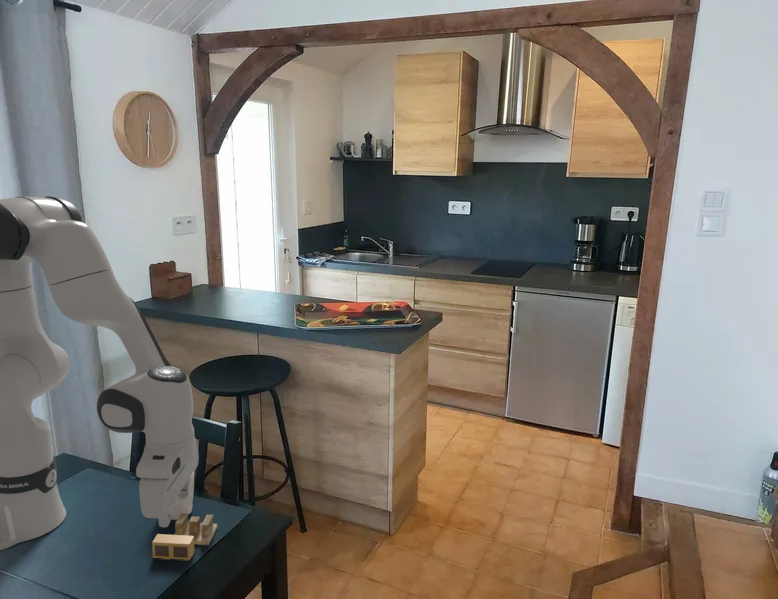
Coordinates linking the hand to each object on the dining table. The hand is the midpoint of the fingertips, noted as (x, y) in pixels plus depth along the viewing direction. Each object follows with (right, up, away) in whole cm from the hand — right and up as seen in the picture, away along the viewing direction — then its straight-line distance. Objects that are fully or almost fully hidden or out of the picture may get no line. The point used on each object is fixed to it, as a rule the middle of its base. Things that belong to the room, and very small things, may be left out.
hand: (174, 510), depth 111 cm
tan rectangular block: (-1, -11, +3) cm, 11 cm away
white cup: (-6, -7, +17) cm, 20 cm away
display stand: (+1, -9, +9) cm, 13 cm away
